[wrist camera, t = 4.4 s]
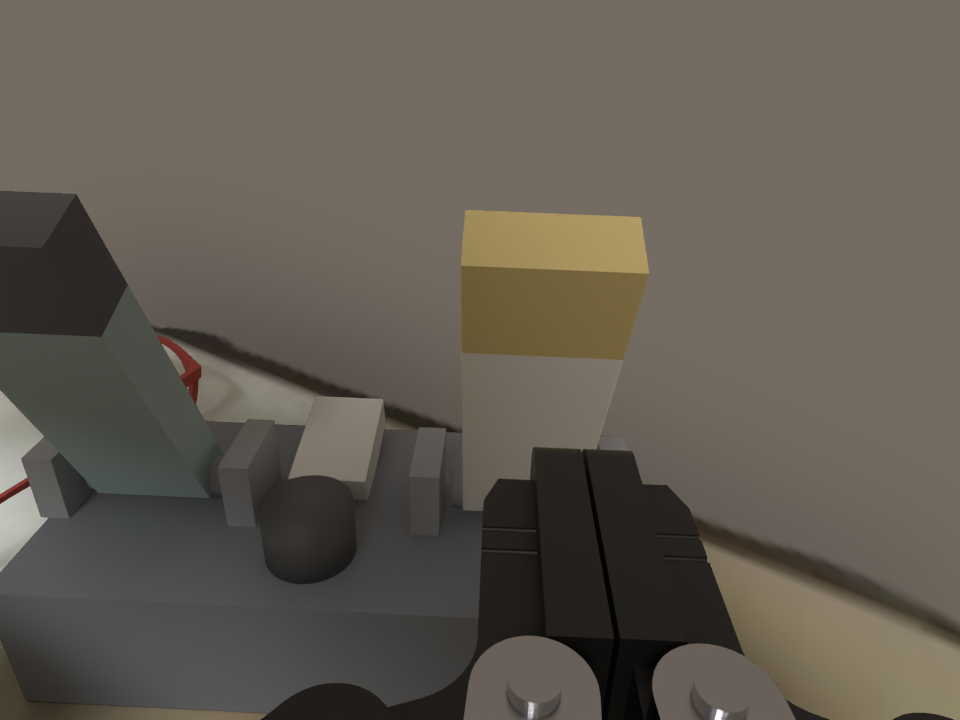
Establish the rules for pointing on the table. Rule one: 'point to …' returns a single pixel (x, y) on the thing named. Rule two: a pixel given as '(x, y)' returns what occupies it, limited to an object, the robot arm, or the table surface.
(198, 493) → the teal lever
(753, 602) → the table surface
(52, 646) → the console
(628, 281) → the white and yellow lever
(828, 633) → the table surface
